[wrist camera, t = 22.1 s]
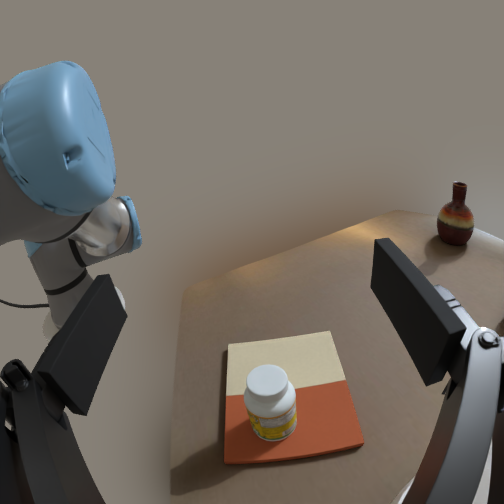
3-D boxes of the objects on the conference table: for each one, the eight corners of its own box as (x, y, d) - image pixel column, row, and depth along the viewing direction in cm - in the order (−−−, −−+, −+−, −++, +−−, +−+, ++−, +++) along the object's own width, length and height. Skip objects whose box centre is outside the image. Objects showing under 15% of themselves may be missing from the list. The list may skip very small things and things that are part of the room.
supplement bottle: (298, 440, 27) (297, 399, 23) (251, 443, 27) (237, 404, 23) (294, 404, 32) (292, 356, 27) (252, 407, 32) (240, 361, 28)
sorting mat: (225, 464, 26) (223, 461, 25) (229, 348, 44) (228, 344, 43) (362, 445, 25) (364, 442, 25) (329, 335, 43) (329, 330, 43)
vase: (428, 232, 68) (432, 178, 61) (455, 228, 67) (461, 177, 60) (449, 251, 58) (458, 191, 51) (477, 245, 58) (486, 190, 51)
